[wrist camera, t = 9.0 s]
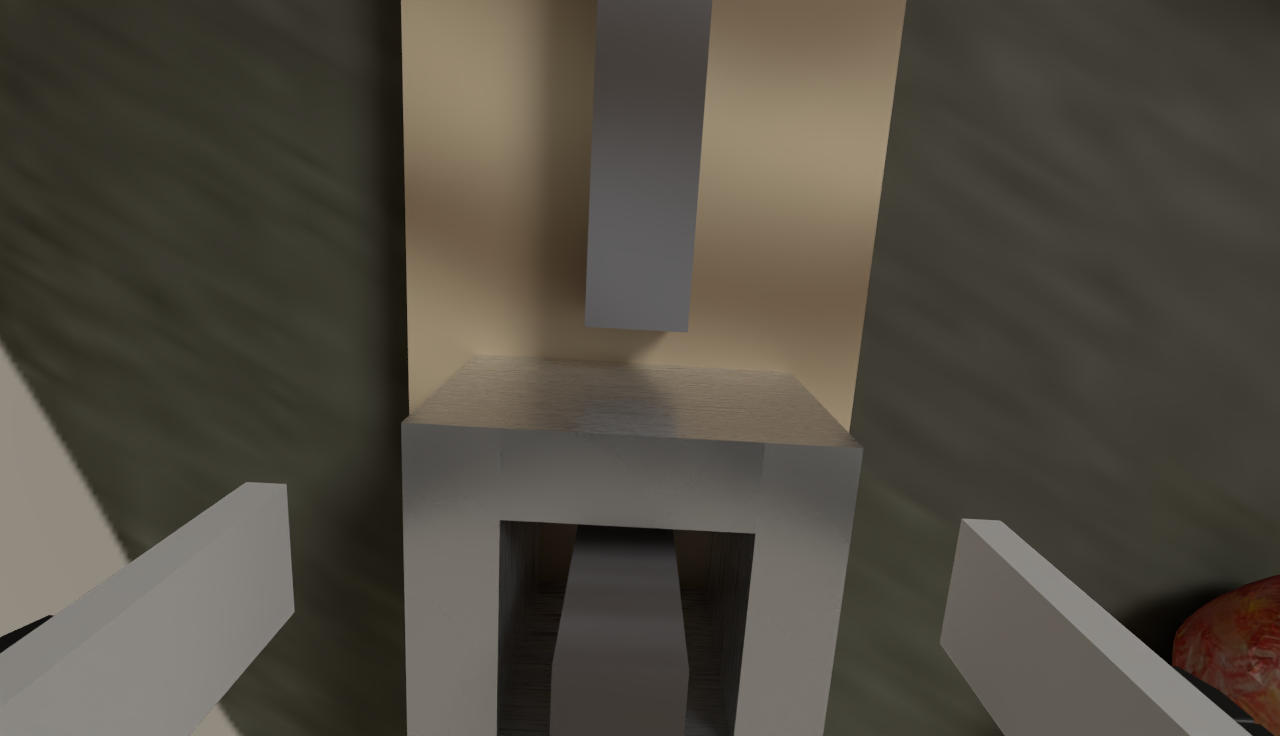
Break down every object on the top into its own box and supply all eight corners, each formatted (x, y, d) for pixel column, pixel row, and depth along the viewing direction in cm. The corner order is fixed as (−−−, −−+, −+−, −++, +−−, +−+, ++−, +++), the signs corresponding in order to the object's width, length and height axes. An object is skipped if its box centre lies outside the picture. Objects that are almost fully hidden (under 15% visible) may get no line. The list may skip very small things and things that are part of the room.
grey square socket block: (477, 354, 15) (401, 422, 10) (790, 372, 15) (863, 448, 10) (475, 633, 17) (408, 808, 12) (759, 647, 17) (809, 825, 12)
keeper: (419, -276, 14) (89, -1017, 5) (912, -241, 14) (1320, -907, 6) (431, 611, 18) (260, 946, 10) (803, 629, 18) (940, 973, 10)
